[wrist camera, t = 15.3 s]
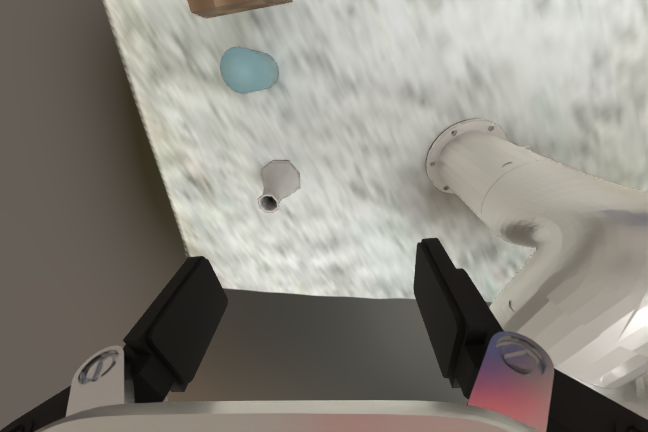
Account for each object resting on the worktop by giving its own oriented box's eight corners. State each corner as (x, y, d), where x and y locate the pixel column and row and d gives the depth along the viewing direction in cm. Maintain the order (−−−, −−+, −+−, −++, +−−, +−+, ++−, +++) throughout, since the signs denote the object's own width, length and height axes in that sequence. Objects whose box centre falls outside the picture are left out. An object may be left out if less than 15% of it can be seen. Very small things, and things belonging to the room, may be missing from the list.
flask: (255, 165, 43) (235, 189, 35) (292, 154, 42) (281, 175, 34) (271, 199, 47) (257, 228, 38) (306, 190, 46) (299, 217, 37)
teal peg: (274, 50, 34) (253, 43, 26) (281, 85, 37) (264, 90, 28) (244, 55, 35) (214, 50, 26) (253, 90, 37) (228, 96, 29)
